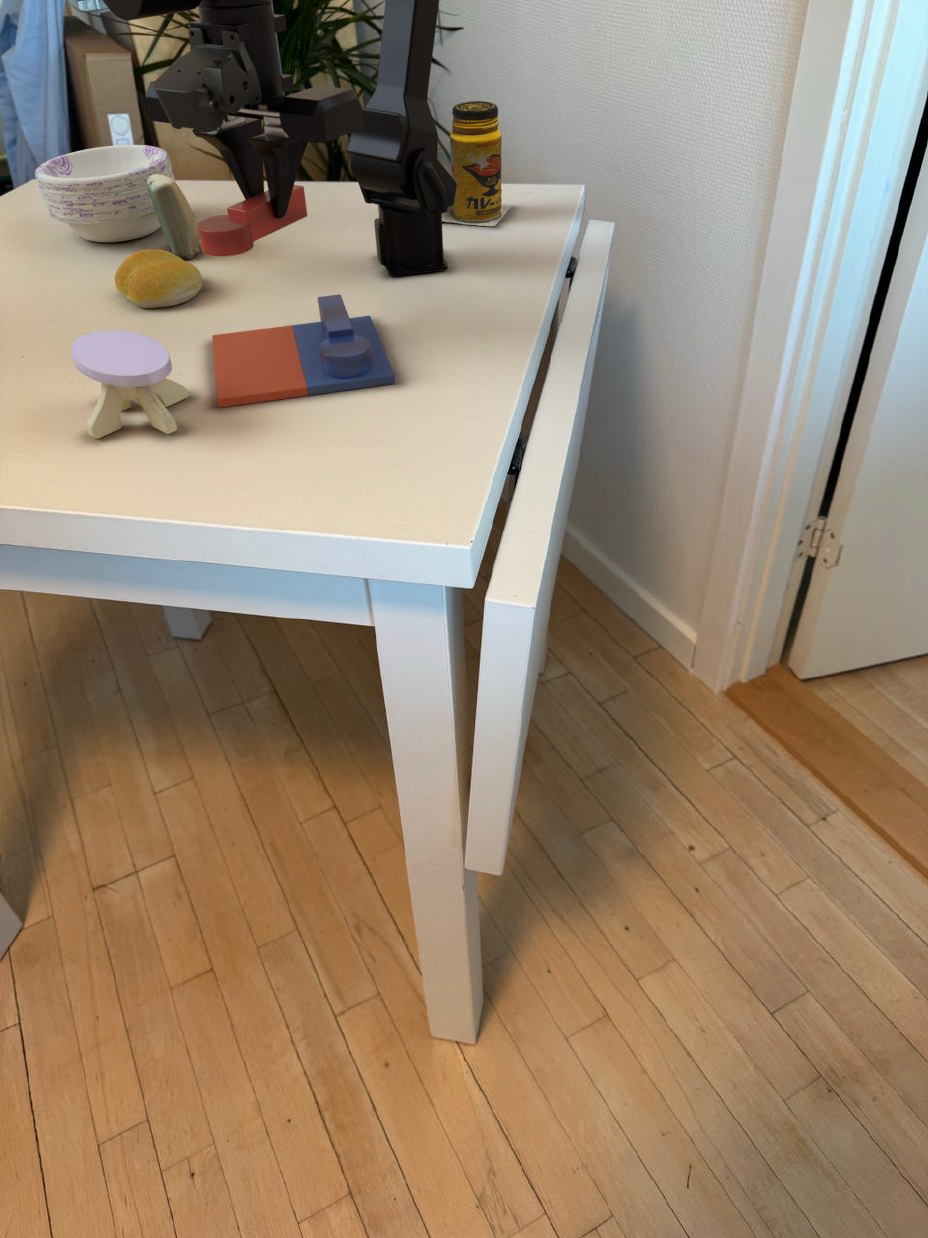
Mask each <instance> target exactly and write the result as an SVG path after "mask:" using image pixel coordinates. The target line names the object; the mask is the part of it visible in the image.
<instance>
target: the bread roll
mask: <svg viewBox="0 0 928 1238" xmlns="http://www.w3.org/2000/svg"><path fill="white" fill-rule="evenodd" d="M202 279H203V278H202V274H201V271H200V270H199V268H198V267H197V266H196V265H194V264H193V263H192V262H188V261H185V259H184V260H182V259H181V258H180V257H178V256H176V255H174V254H172V252H171V251H168V250H165V249H158V248H157V249H154V248H148V249H143V250H139V251H136V252H133V253H132V254H130V255H129V256H128V257H126V258H125V259H124V260H123V262H122V263H121V264H120V265H119V267H118V268H117V269H116V272H115V274H114V285H115V288H116V290H117V291H118V292H119V294H120V295H122V296H123V298H125V299H127V300H128V301H130V302H131V303H132V304H133V305H135V306H136V307H139V308H142V309H155V308H157V309H158V308H169V307H173V306H179V305H180V304H184V303H186V302H188V301H191V299H193V298H194V297H195V296H197V294H198V293H199V292H200V290H201V289H202V288H203V280H202Z"/></svg>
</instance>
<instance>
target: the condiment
mask: <svg viewBox="0 0 928 1238" xmlns="http://www.w3.org/2000/svg"><path fill="white" fill-rule="evenodd" d="M451 114H452V122H451V127H452V130H451V132H450V135H449V151H450V152H449V153H450V154H449V157H450V175H451V177H452V178H453V179H454V180H455V182H456V183H457V188H456V194H455V200H454V205H453V206H451V207H448V209H447V212H445V213H442V222H445V223H453V224H460V225H469V226H470V225H472V226H479V227H480V226H481V227H483V226H485V227H494V226H497V224H499V222H500V221H501V220H502V219H503V218H504V217H505V215H506V214H507V213H508V211H509V209H510V208H512V206H511V205H502V201H503V200H502V192H503V191H502V189H503V188H502V146H503V145H502V144H503V143H502V140H503V139H502V133H501V131H500V130H499V128H498V127H499V125H500V123H499V108H498V105H496V103H494V102H490V101H483V100H470V101H463V102H460V103H457V104H455V105H454V106H453V107H452V112H451Z"/></svg>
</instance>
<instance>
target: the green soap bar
mask: <svg viewBox="0 0 928 1238" xmlns="http://www.w3.org/2000/svg"><path fill="white" fill-rule="evenodd" d="M147 189H148V192H149V195H150V198H151V200H152V202H153V205H154V208H155V211H156V214H157V216H158V219H159V222H160V225H161V227H160V228H161V231H162V233H163V236H164V238H165V241H166V243H167V246H168V249H169V252H170V253H172V254H174V255H176V256H178V257H180V258H181V259H182V260H184V261H185V260H189V259H192V258H194V257H195V255H196V254H198V253H199V252H200V248H199V247H198V244H199V243H200V239H199V235H198V230H197V224H198V223H199V222H200V221H199V220H198V219H197V217H196V216H195V214H194V211H193V209H192V207H191V204H190V203H189V201H188V199H187V198H186V196H185V194H184V193H183V190H182V189H181V188H180V187H179V185H178V184H177V182H176V180H175V181H174V180H173V179H171V178H170V177H167V176H164V175H160V174H154V175H151V176H150V177H149V178H148V179H147Z"/></svg>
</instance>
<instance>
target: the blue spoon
mask: <svg viewBox="0 0 928 1238" xmlns="http://www.w3.org/2000/svg"><path fill="white" fill-rule="evenodd" d="M317 304H318V312H319V320H320V322H321V325H322V328H323V331H324V335H325V338H326V340H324V341H323V342H322V343H321V344H320V345H319V353H320V360H321V367H322V371H323V373H324V374H325V375H327V376H329V377H333V378H338V379H348V378H355V377H359V376H362V375H364V374H366V373H367V372H369V371H370V370H371V368H372V356H371V347H370V342H369V341H368V340H367V339H366V338H364V337H362V336H358V335H354V331H353V327H352V324H351V321H350V319H349V318H350V316H349V314H348V313H349V312H348V311H347V308H346V305H345V303H344V299H343V297H342V295H341V294H340V293H339V294H331V295H321V296H317Z"/></svg>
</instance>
